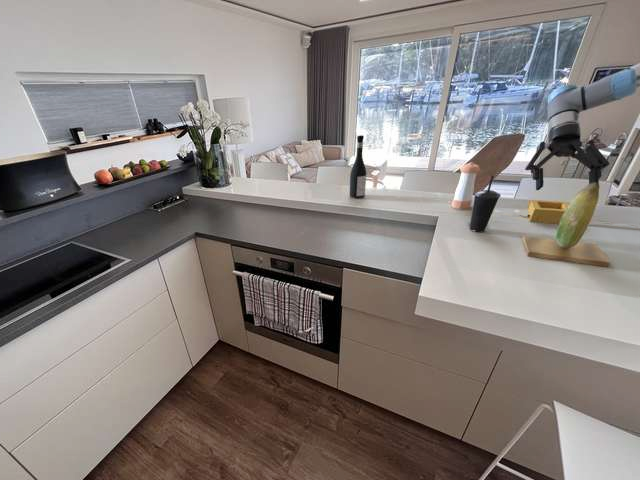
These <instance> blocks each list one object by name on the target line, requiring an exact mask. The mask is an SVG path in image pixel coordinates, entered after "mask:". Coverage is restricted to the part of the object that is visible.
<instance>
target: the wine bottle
mask: <svg viewBox="0 0 640 480" xmlns="http://www.w3.org/2000/svg"><path fill="white" fill-rule="evenodd" d="M364 137H365V136H364V135H357V136H356V155H355V160H354V163H353V165H352V166H351V167H352V168H351V170H350V173H349V197H350V198H352V199H361V198H364V197H365V196H366V185H367V169H366V165H365V161H364V159H363V145H364Z"/></svg>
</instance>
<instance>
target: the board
mask: <svg viewBox="0 0 640 480" xmlns="http://www.w3.org/2000/svg"><path fill="white" fill-rule="evenodd" d="M522 240H523V241H522V243H524V244H523V247H524V250H525V254H526V253H527V254H526V256H527V257H531V256H532V257H531V258H540V259H546V260H554V261H560V262H569V263H575V264H576V263H577V264H582V265H583V264H584V265H591V266H598V267H605V268H608V267H609V266H610V264H611V261H610V260H609V258H608V257H607V256H606V255H605V253H604V252H603V250H602V249H601V248H600V247H599V245H598V244H596V243H587V242H580V241H579V242H578V243H577V244H576V245H575V246H573V247H571V248H564V247H561V246H560V245H558V243H557V241H556V239H549V238H543V237H533V236H523V237H522Z"/></svg>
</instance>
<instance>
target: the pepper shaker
mask: <svg viewBox="0 0 640 480" xmlns="http://www.w3.org/2000/svg"><path fill="white" fill-rule="evenodd" d="M480 171H481V168H480V165H478V164H476V163H474V162H473V161H471V162H469V163H465V164H463V165H462V166H460V168H459V172H460V173H461V174H460V178H459V182H458V184H457V186H456V189H455V193H454V197H453V198H452V202H451V208H454V209H456V210H468V209H470V208H471V206H472V204H473V203H472V202H473V199H472V198H473V195H474V191H475V190H474V189H475V188H474V187H475V181H476V177H477V174H478V173H479V172H480Z"/></svg>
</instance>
